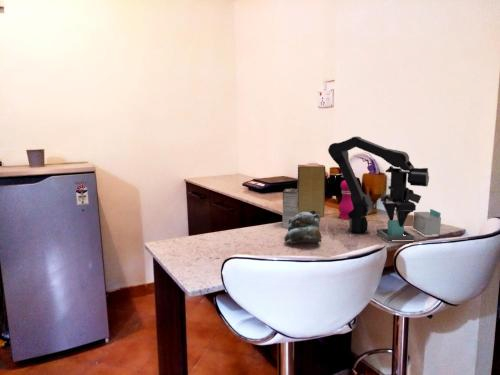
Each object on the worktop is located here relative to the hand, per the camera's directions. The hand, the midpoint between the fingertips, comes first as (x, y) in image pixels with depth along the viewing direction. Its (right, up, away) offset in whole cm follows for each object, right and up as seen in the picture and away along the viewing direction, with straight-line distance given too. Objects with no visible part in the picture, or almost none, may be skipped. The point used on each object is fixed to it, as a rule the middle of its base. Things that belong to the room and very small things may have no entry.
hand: (396, 223), depth 143 cm
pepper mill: (-11, -1, +33) cm, 35 cm away
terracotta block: (+10, -3, +16) cm, 19 cm away
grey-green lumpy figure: (-38, -7, -5) cm, 39 cm away
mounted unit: (+15, -5, +6) cm, 17 cm away
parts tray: (0, -6, +1) cm, 6 cm away
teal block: (0, -5, +1) cm, 5 cm away
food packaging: (-27, 0, +40) cm, 48 cm away
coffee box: (-39, -3, +20) cm, 44 cm away
